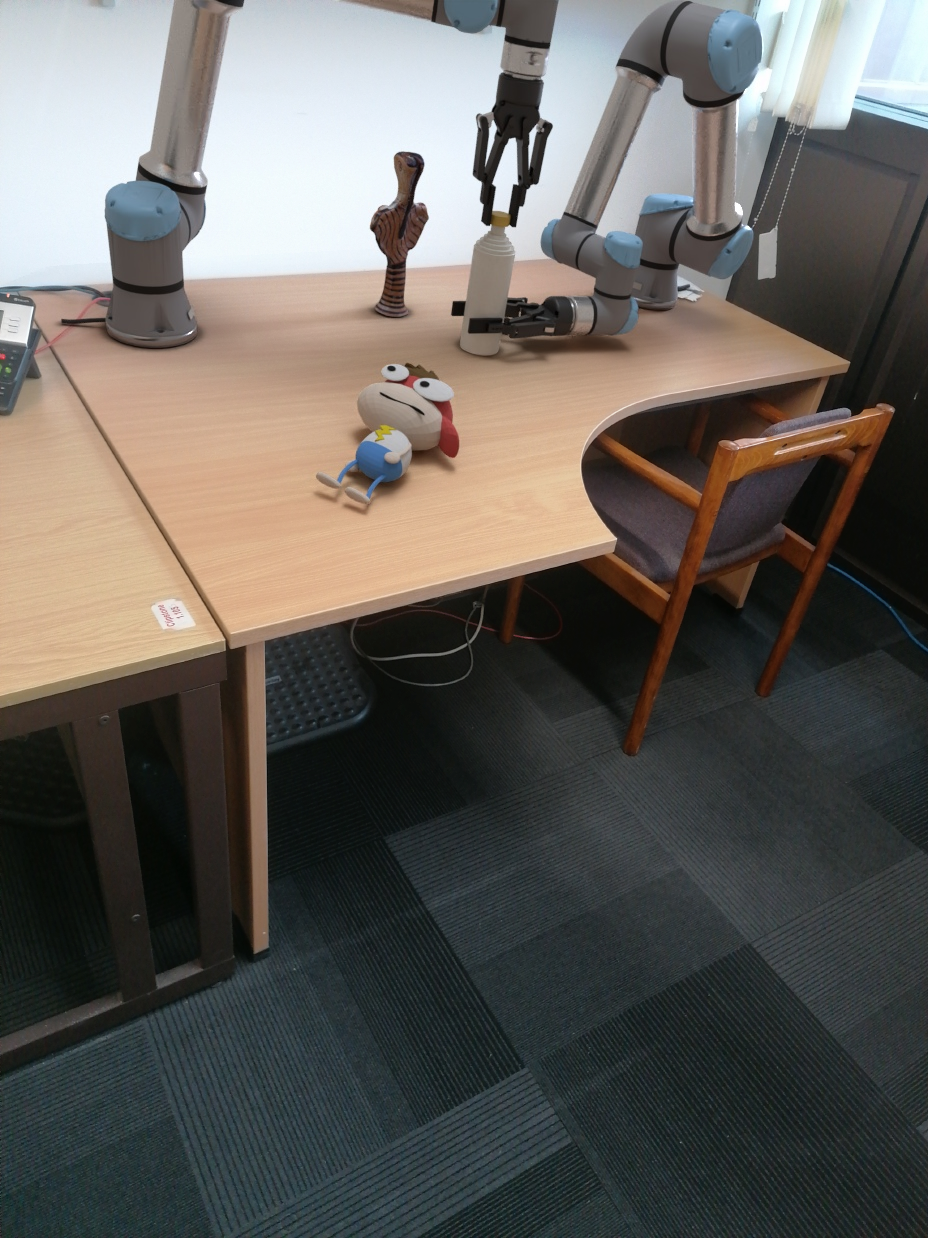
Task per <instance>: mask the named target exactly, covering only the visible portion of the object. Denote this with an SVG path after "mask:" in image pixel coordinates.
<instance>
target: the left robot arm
mask: <svg viewBox="0 0 928 1238" xmlns="http://www.w3.org/2000/svg"><path fill="white" fill-rule="evenodd" d="M333 1H334V2H338V3H343V4H348V5H352V6H356V7H361V8H367V9H371V10H376V11H380V12H383V13H388V14H389V13H390V14H393V15H397V16H398V15H399V16H403V17H408V18H411V19H416V20H421V21H425V22H430V23H435V24H436V25H441V26H442V25H443V26H446V27H451V28H454V29H456V30H457V31H458V32H460V33H464V34H473V35H474V34H477V33H480V32H483V31H484V30H485V29H486V28H488V26H491V27H497V28H505V34H504V39H503V44H502V45H503V46H502V50H501V51H502V53H501V58H500V65H499V68H500V69H501V70H502V72H500V73H499V74H498V80H497V86H496V92H495V93H496V94H495V103H494V105H493V106H492V108H491V111H489V112H486V113H481V112H480V113H477V114H476V115H475V122H476V127H477V133H476V142H475V150H474V158H473V166H472V177H474V178H475V179H476V181H479V182H481V187H480V193H479V202H480V204H482V213H481V219H480V222H481V223H482V224H484V226H486V227H491V217H492V211H494V203H495V199H496V198H495V197H496V191H497V186H496V185H495V184H493V183H494V180H495V178H496V174H497V171H498V169H499V165H500V163H501V160H502V157H503V154H504V151H505V148H506V146H507V145H508V144H509V140H511V139H515V143H516V162H517V163H516V166H517V167H516V168H517V169H516V173H517V175H516V176H517V183H516V184H515V183H513V184H512V188H511V194H510V201H509V206H508V212H507V213H508V214H510V224H509V226H510V227H511V228H517V224H518V219H519V213H520V208H523V207H524V205H525V204H526V198H527V191H528V190H529V189H531V187H532V186H533V185H534V186H537V185H538V184H539V182H540V178H541V174H542V168H543V163H544V158H545V153H546V147H547V142H548V138H549V136H550V135H551V133H552V130H553V128H554V125H553V123H552V122H550V121H548V120H547V119H544V118H542V117H541V113H540V106H541V103H542V97H543V91H544V86H545V82H544V80H543V79H542V77H543V78H544V76H546V75H547V74H546V73H547V67H548V62H549V56H550V51H551V50H550V49H551V45H552V38H553V34H554V33H553V32H554V27H555V22H556V17H557V11H558V5H559V1H560V0H333ZM244 3H245V0H173V4H172V12H171V16H170V23H169V29H168V35H167V42H166V49H165V55H164V60H163V61H164V63H163V68H162V72H161V80H160V85H159V86H160V87H159V92H158V93H159V94H158V98H157V104H156V111H155V117H154V124H153V130H152V136H151V142H150V148H149V151H147V152H145V153H143V154H142V155H140V156H139V158H138V163H137V169H136V176H135V180H131V181H126V183H124V182H121V183H118V184H116V185H114V186H112V187H111V188H109V190H107V193H106V195H105V199H104V220H105V222H106V233H107V241H108V250H109V259H110V268H111V277H112V291H111V295H110V300H109V303H108V307H107V311H106V315H105V317H89V318H76V319H75V318H73V319H72V318H71V319H67V318H61V320H60V322H61V324H66V325H67V324H68V325H78V324H91V323H93V324H94V323H95V324H96V323H105V326H106V328H105V329H106V332H107V334H108V335H109V336H110V337H111V338H112V339H114V340H116V341H117V342H120V343H123V344H126V345H130V346H133V347H140V348H152V349H157V348H160V349H163V348H171V347H177V346H182V345H184V344H187V343H189V342H191V341H193V340H194V339H195V338H196V337H197V335H198V324H197V322H198V321H197V318H196V317H195V314H196V311H195V309H194V306H193V305H192V306H191V304H190V300H189V298H188V296H187V293H186V290H185V278H184V276H185V275H184V260H183V259H184V258H183V252H184V250H185V249H186V248H187V246H188V245H189V244H190V243H191V242H192V241H193V240H194V239H195V238H196V237H197V236H198V235H199V233H200V231H201V230H202V228H203V226H204V224H205V222H206V221H205V220H206V217H207V216H206V215H207V204H206V194H207V188H208V183H209V180H208V177H207V176H206V174H205V173H204V170H203V169H202V167H203V161H204V155H205V151H206V146H207V140H208V135H209V130H210V125H211V121H212V120H211V119H212V115H213V110H214V104H215V99H216V94H217V89H218V85H219V79H220V74H221V68H222V63H223V58H224V53H225V48H226V42H227V38H228V33H229V27H230V23H231V18H232V16H233V15H234V14H236V13H238V12H240V11H241V10H243V8H244ZM492 122H494V124H495V127H496V130H495V133H494V136H493V139H494V140H493V143H492V145H491V149H490V151H489V154H488V148H489V140H490V139H489V138H490V128H491V127H492V124H493V123H492ZM533 129H535V131H536V133H535V135H534V141H533V147H532V152H531V157H530V156H529V153H530V152H529V150H530V149H529V147H530V141H531V140H530V134H531V132H532V131H533ZM487 155H488V157H487Z"/></svg>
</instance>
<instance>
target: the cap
mask: <svg viewBox="0 0 928 1238" xmlns="http://www.w3.org/2000/svg"><path fill="white" fill-rule="evenodd" d="M509 224H510V214H508V212H506V211H500V210H493V211H492V217H491V224H490V226H491V225H494V226H498V227H505V228H508V227H509V226H510V225H509Z"/></svg>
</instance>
